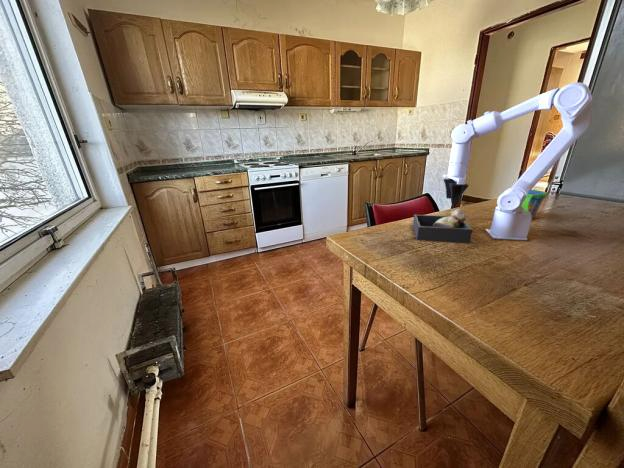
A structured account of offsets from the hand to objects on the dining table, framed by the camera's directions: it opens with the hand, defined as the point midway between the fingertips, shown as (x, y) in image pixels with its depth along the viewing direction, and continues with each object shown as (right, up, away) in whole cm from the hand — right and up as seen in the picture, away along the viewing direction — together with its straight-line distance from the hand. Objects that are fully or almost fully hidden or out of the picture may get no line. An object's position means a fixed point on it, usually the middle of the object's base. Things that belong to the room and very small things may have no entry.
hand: (452, 200), depth 93 cm
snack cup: (+33, -5, +10) cm, 35 cm away
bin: (-7, -12, -4) cm, 15 cm away
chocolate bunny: (-6, -10, -6) cm, 13 cm away
